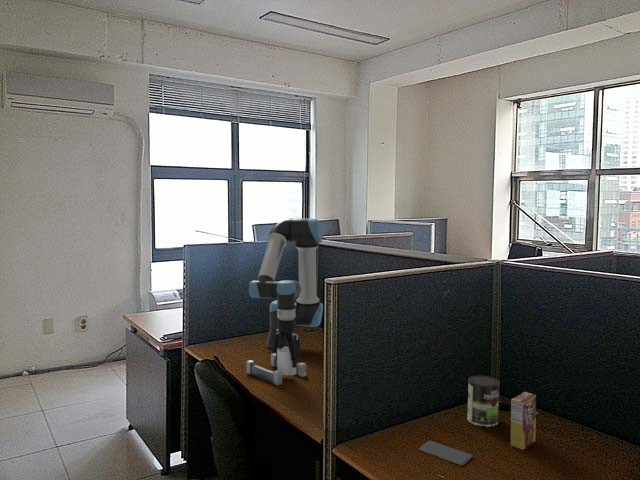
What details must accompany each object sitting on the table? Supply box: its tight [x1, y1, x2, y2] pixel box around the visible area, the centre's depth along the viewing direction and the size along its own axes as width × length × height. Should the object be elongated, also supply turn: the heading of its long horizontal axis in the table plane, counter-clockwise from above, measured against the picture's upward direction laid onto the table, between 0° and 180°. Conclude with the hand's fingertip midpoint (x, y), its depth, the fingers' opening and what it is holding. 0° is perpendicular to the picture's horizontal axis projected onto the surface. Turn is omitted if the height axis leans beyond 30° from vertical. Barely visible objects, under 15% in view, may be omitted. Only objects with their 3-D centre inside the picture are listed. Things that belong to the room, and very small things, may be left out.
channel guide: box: [246, 352, 307, 386], centre depth 223 cm, size 16×20×5 cm
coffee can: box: [466, 375, 501, 428], centre depth 178 cm, size 10×10×14 cm
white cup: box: [277, 347, 291, 376], centre depth 217 cm, size 8×8×10 cm
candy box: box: [510, 391, 537, 450], centre depth 161 cm, size 9×4×15 cm, turn 133°
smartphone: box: [418, 440, 474, 466], centre depth 156 cm, size 8×1×15 cm
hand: (286, 372), depth 218 cm, fingers closed on white cup, 7 cm apart
